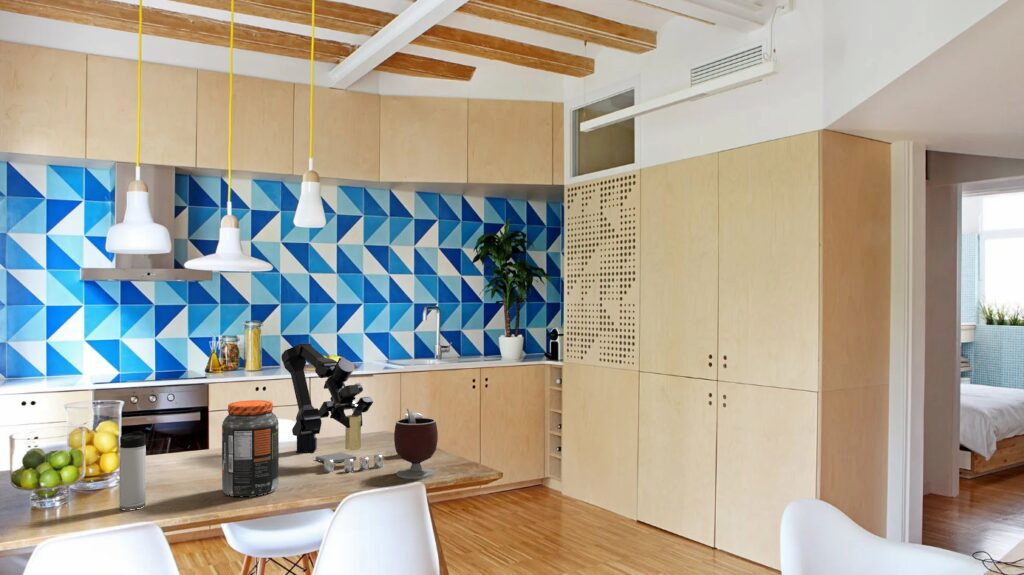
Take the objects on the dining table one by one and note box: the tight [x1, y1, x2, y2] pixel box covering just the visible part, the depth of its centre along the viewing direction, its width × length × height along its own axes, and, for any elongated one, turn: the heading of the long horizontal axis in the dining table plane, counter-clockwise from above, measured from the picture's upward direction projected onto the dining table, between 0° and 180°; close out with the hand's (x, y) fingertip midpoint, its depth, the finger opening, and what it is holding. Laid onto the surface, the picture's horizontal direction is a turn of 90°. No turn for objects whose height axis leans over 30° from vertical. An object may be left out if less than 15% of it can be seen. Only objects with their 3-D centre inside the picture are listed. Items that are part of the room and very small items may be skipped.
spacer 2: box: [343, 458, 355, 473], centre depth 241 cm, size 3×3×4 cm
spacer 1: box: [323, 459, 335, 473], centre depth 240 cm, size 3×3×4 cm
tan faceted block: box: [344, 414, 362, 451], centre depth 250 cm, size 4×5×11 cm
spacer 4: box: [373, 453, 384, 469], centre depth 247 cm, size 3×3×4 cm
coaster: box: [315, 451, 357, 464], centre depth 258 cm, size 10×10×1 cm
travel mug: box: [118, 431, 147, 510], centre depth 200 cm, size 6×7×20 cm
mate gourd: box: [393, 408, 439, 480], centre depth 238 cm, size 16×14×20 cm
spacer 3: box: [359, 456, 370, 471], centre depth 244 cm, size 3×3×4 cm
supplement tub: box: [221, 399, 280, 498], centre depth 217 cm, size 16×16×26 cm
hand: (355, 426), depth 249 cm, fingers closed on tan faceted block, 4 cm apart
